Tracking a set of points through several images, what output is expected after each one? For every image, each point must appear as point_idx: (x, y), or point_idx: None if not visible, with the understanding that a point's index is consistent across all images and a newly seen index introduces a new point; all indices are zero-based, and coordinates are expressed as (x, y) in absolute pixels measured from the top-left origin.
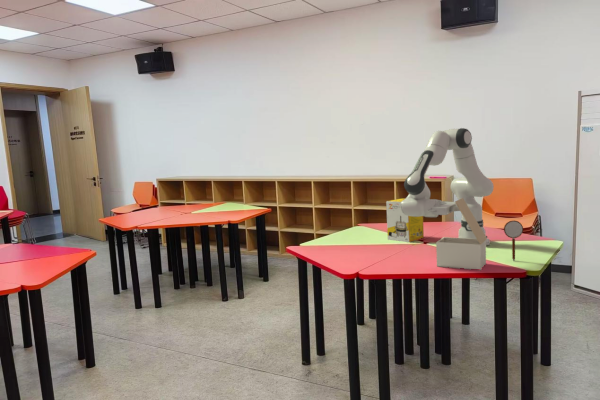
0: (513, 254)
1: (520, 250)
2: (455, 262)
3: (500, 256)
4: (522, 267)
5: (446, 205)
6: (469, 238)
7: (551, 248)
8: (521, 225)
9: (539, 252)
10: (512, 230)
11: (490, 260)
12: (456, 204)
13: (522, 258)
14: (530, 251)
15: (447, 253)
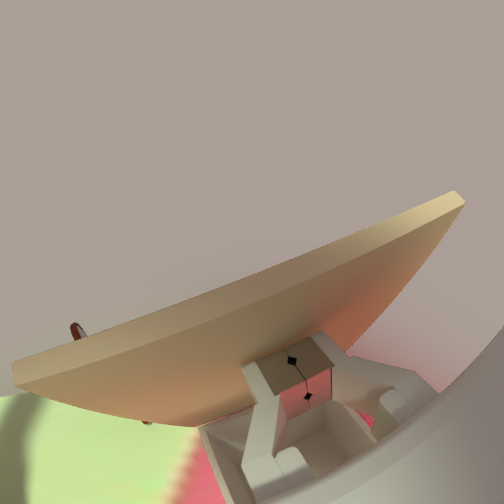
0: None
1: (35, 447)
2: None
3: (112, 473)
4: None
5: (502, 432)
6: (223, 494)
7: (14, 399)
8: (81, 328)
9: (46, 408)
10: None
11: (178, 478)
12: (447, 230)
13: (112, 418)
14: (41, 426)
15: None
